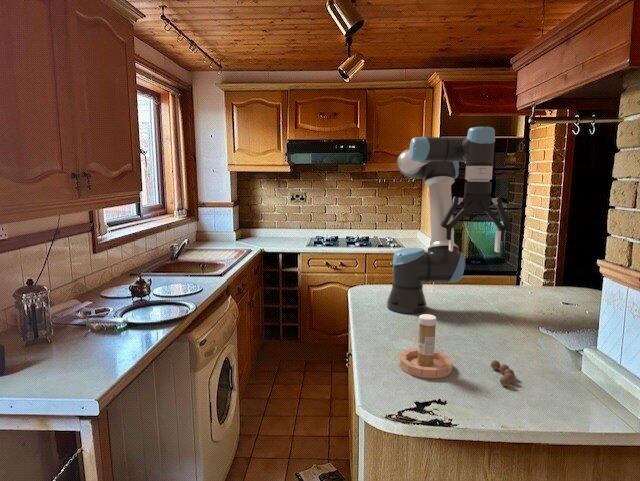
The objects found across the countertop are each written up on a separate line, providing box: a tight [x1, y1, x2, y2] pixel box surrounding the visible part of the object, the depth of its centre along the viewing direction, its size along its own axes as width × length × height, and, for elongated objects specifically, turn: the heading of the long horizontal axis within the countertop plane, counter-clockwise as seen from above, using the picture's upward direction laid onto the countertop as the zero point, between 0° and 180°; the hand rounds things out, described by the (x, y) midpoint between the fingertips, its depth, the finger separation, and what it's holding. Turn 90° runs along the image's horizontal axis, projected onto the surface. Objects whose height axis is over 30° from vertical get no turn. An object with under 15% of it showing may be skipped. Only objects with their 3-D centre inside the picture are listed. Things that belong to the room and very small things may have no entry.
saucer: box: [398, 347, 453, 380], centre depth 115 cm, size 14×14×2 cm
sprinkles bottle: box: [417, 313, 437, 367], centre depth 114 cm, size 5×5×13 cm
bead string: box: [490, 360, 515, 387], centre depth 110 cm, size 12×5×2 cm, turn 174°
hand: (473, 251), depth 129 cm, fingers open, 13 cm apart
